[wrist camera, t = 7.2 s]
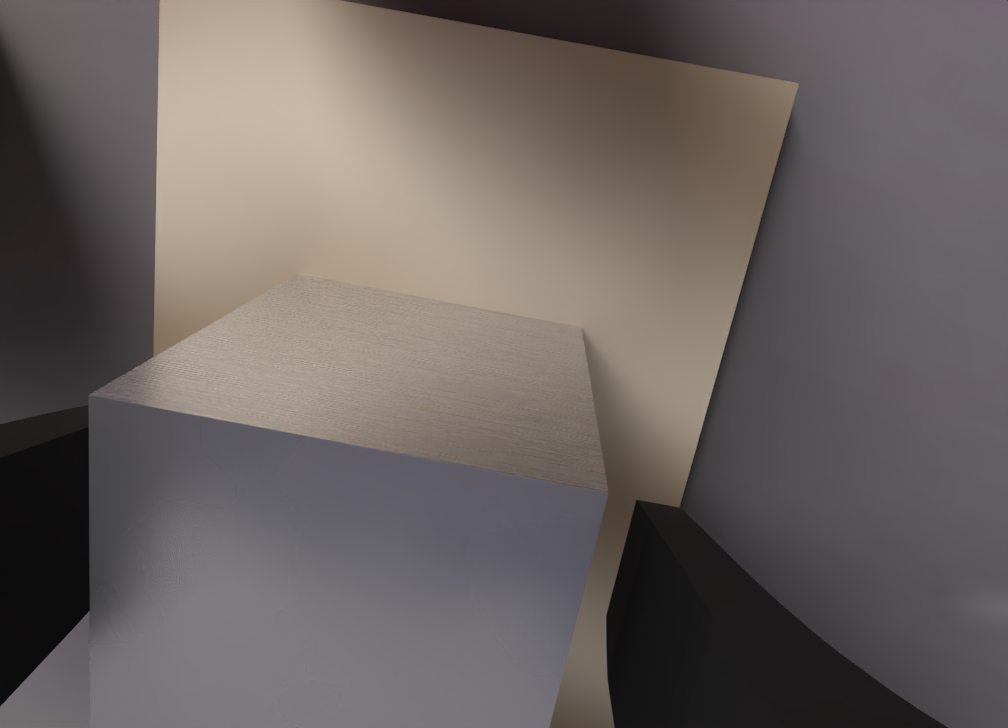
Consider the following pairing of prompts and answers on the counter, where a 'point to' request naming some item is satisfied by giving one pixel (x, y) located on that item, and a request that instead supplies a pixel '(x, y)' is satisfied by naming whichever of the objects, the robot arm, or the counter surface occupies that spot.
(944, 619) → the counter surface
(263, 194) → the board
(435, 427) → the brushed gray cube
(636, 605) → the robot arm
